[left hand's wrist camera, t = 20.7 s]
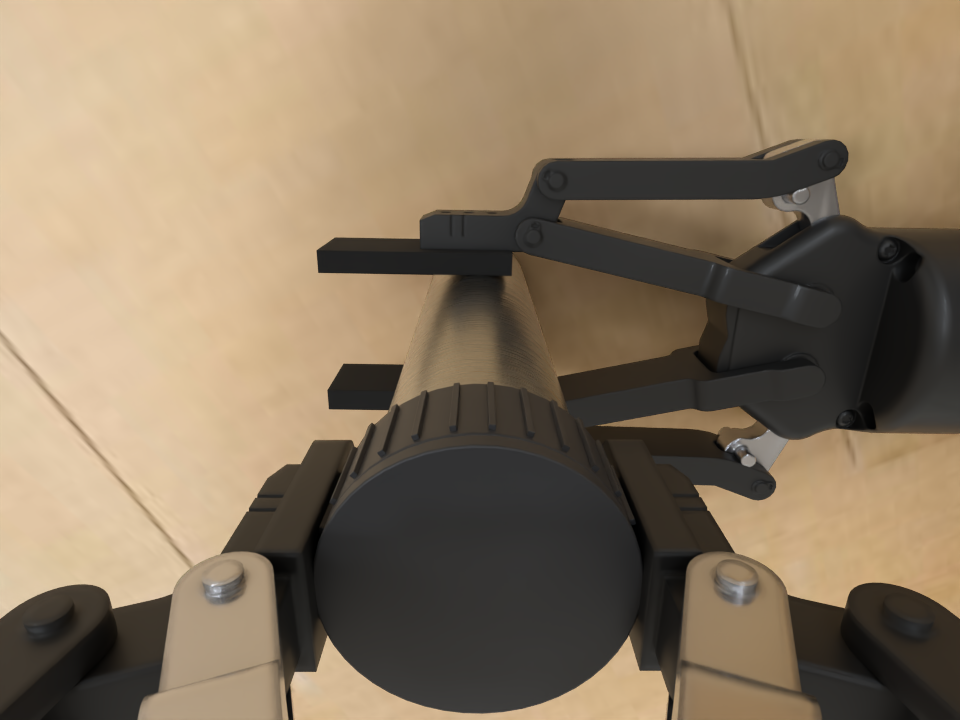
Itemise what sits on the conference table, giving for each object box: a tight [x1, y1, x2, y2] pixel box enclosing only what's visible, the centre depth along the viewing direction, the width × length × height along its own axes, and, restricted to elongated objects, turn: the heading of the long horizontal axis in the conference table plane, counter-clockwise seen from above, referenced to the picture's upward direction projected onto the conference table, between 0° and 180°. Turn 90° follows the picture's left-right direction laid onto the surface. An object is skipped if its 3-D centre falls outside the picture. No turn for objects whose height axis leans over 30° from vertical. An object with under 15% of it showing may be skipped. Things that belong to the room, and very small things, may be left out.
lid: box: [313, 382, 643, 713], centre depth 10 cm, size 5×5×2 cm
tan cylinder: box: [388, 255, 569, 413], centre depth 19 cm, size 4×4×20 cm
